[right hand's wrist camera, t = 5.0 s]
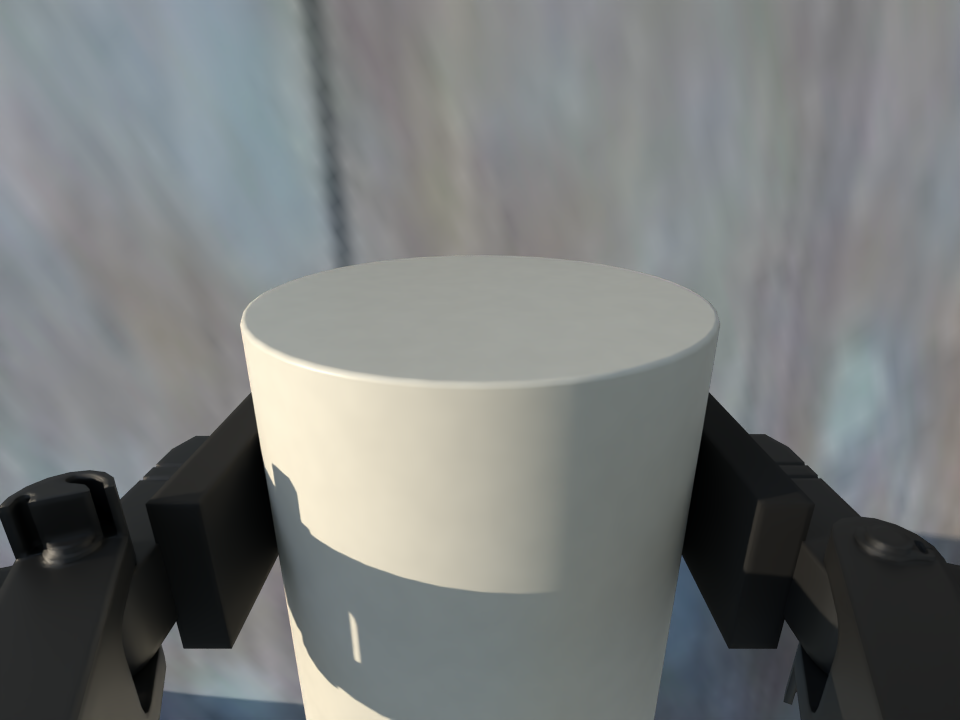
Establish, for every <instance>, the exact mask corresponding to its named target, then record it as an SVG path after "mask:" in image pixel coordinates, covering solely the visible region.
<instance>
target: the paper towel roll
mask: <svg viewBox="0 0 960 720" xmlns="http://www.w3.org/2000/svg"><path fill="white" fill-rule="evenodd" d="M240 326H241V332H242V338H243V344H244V350H245V356H246V362H247V368H248V374H249V380H250V386H251V392H252V398H253V404H254V410H255V416H256V422H257V428H258V434H259V440H260V446H261V452H262V457H263V463H264V469H265V475H266V481H267V487H268V493H269V499H270V505H271V511H272V517H273V523H274V529H275V535H276V541H277V547H278V553H279V559H280V565H281V571H282V577H283V583H284V589H285V595H286V601H287V607H288V613H289V619H290V625H291V631H292V637H293V643H294V649H295V655H296V661H297V667H298V673H299V679H300V685H301V691H302V696H303V702H304V708H305V714H306V720H654V717H655V711H656V705H657V699H658V693H659V687H660V681H661V675H662V669H663V663H664V657H665V651H666V645H667V639H668V633H669V627H670V621H671V615H672V609H673V603H674V597H675V591H676V585H677V579H678V573H679V567H680V561H681V555H682V549H683V543H684V537H685V532H686V526H687V520H688V514H689V508H690V502H691V496H692V490H693V484H694V478H695V472H696V466H697V460H698V454H699V448H700V442H701V436H702V430H703V424H704V418H705V412H706V406H707V400H708V394H709V388H710V382H711V376H712V370H713V364H714V358H715V352H716V346H717V340H718V334H719V328H720V322H719V318H718V314H717V311H716V310H715V309H714V307H713V306H712V305H711V303H709V302H708V301H707V300H706V299H704V298H703V297H702V296H700V295H699V294H697V293H695V292H693V291H691V290H690V289H688V288H685V287H683V286H681V285H678V284H676V283H674V282H671V281H668V280H665V279H662V278H659V277H656V276H653V275H649V274H645V273H641V272H638V271H633V270H629V269H624V268H619V267H614V266H608V265H602V264H596V263H589V262H582V261H573V260H564V259H553V258H541V257H525V256H495V255H466V256H436V257H419V258H407V259H396V260H387V261H379V262H372V263H365V264H358V265H352V266H347V267H341V268H336V269H332V270H327V271H323V272H319V273H315V274H312V275H308V276H304V277H301V278H298V279H295V280H292V281H289V282H287V283H285V284H282V285H280V286H277V287H275V288H273V289H271V290H269V291H267V292H265V293H264V294H262V295H260V296H259V297H257V298H256V299H255V300H254V301H252V302H251V303H250V304H249V305H248V307H247V308H246V309H245V310H244V312H243V315H242V320H241V324H240Z"/></svg>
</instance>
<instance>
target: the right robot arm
mask: <svg viewBox="0 0 960 720" xmlns="http://www.w3.org/2000/svg"><path fill="white" fill-rule="evenodd" d="M156 465H157V466H156V467H153V468H152V469H151V470H150V471H149V472H148V473H147V474H146V475H145V476H144V477H143V480H140V481H139V482H138V483H137V484H136V485H135V486H134V487H133V488H131V489H130V490H129V491H128V492H127V493H126V494H125V495H124V496H123V497H122V498H121V499H120V498H119V495H118V491H117V488H116V484H115V481H114V477H112V476H110V475H109V474H107V473H106V472H100V471H92V470H88V471H78V472H69V473H65V474H61V475H57V476H53V477H50V478H46V479H44V480H42V481H39V482H37V483H34V484H32V485H29V486H27V487H25V488H23V489H22V490H20V491H18V492H16V493H15V494H13V495H11V496H10V497H8V498H7V499H6V500H5V501H4V502H3V503H2V504H1V505H0V519H1V522H2V525H3V527H4V530H5V532H6V535H7V537H8V540H9V543H10V545H11V548H12V550H13V553H14V556H15V558H16V560H15V562H14V564H13V566H9V567H4V568H0V720H159V719H160V711H161V703H162V696H163V688H164V680H165V672H166V662H165V656H164V652H163V649H162V645H161V644H162V642H163V641H164V639H165V638H166V636H167V635H168V633H169V632H170V630H171V628H172V627H173V625H174V624H175V622H177V625H178V629H179V633H180V637H181V640H182V644H183V648H184V649H232V647H233V645H234V643H235V641H236V639H237V637H238V635H239V633H240V631H241V629H242V627H243V625H244V623H245V621H246V619H247V617H248V615H249V613H250V611H251V609H252V607H253V605H254V603H255V601H256V599H257V597H258V595H259V593H260V591H261V589H262V587H263V585H264V583H265V581H266V579H267V577H268V575H269V573H270V571H271V569H272V567H273V565H274V563H275V561H276V559H277V557H278V555H279V553H278V547H277V541H276V535H275V529H274V523H273V517H272V511H271V505H270V499H269V493H268V487H267V481H266V475H265V469H264V463H263V457H262V452H261V446H260V440H259V434H258V428H257V422H256V416H255V410H254V404H253V398H252V392H251V393H250V394H249V395H248V396H247V397H246V398H245V400H244V401H243V402H242V403H241V404H240V405H239V406H238V407H237V408H236V409H235V410H234V411H233V412H232V413H231V414H230V415H229V416H228V417H227V418H226V420H225V421H224V422H223V423H222V424H221V425H220V426H219V427H218V428H217V429H216V430H215V431H214V432H213V433H212V434H211V435H210V436H195V437H193V438H191V439H190V440H188V441H186V442H184V443H182V444H181V445H179V446H177V447H175V448H173V449H172V450H171V451H170V452H169V453H168V454H167V455H166V456H165V457H164V458H162V459H161V460H160V461H159V462H158V463H157V464H156ZM682 556H683V558H684V560H685V562H686V564H687V566H688V568H689V570H690V572H691V574H692V576H693V578H694V580H695V582H696V584H697V586H698V588H699V590H700V592H701V594H702V596H703V598H704V600H705V602H706V604H707V606H708V608H709V610H710V612H711V614H712V616H713V618H714V620H715V622H716V624H717V626H718V628H719V630H720V632H721V634H722V636H723V638H724V640H725V642H726V644H727V646H728V648H729V649H777V646H778V642H779V638H780V635H781V631H782V627H783V623H784V620H786V622H787V623H788V625H789V627H790V628H791V630H792V631H793V633H794V634H795V636H796V637H797V639H798V640H799V645H798V649H797V652H796V656H795V659H794V663H793V666H792V670H791V673H790V677H789V680H788V684H787V687H786V691H785V697H784V702H785V703H788V704H791V705H792V702H793V699H794V696H795V693H796V692H797V694H798V702H799V709H800V717H801V720H960V566H959V565H954V564H949V563H946V561H945V559H944V558H943V557H942V556H941V554H940V553H939V552H938V551H937V550H936V548H935V547H934V546H933V545H931V544H930V543H928V542H927V541H926V540H924V539H923V538H921V537H920V536H918V535H917V534H915V533H913V532H911V531H909V530H906V529H904V528H902V527H900V526H898V525H896V524H892V523H889V522H885V521H882V520H879V519H875V518H867V517H861V516H860V515H859V514H858V513H857V512H856V511H855V510H853V509H852V508H851V507H850V506H849V505H848V504H847V503H846V502H845V501H844V500H843V499H842V498H841V497H840V496H839V495H838V494H837V493H836V492H835V491H834V490H833V489H832V488H831V487H830V486H828V485H827V484H826V483H825V482H824V481H823V480H822V479H821V478H818V475H817V474H816V473H815V472H814V471H813V470H812V469H811V468H810V467H809V466H808V465H805V464H804V462H803V461H802V460H801V459H800V458H799V457H798V456H797V455H796V454H795V453H794V452H793V451H792V450H791V449H790V448H789V447H787V446H785V445H784V444H782V443H780V442H778V441H776V440H774V439H773V438H771V437H769V436H767V435H765V434H748V433H747V432H746V431H745V430H744V429H743V428H742V427H741V425H740V424H739V423H738V422H737V421H736V420H735V419H734V418H733V417H732V416H731V415H730V414H729V413H728V412H727V411H726V410H725V409H724V408H723V406H722V405H721V404H720V403H719V402H718V401H717V400H716V399H715V398H714V397H713V396H712V395H711V394H710V393H709V394H708V400H707V406H706V412H705V418H704V424H703V430H702V436H701V442H700V448H699V454H698V460H697V466H696V472H695V478H694V484H693V490H692V496H691V502H690V508H689V514H688V520H687V526H686V532H685V537H684V543H683V549H682Z"/></svg>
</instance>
